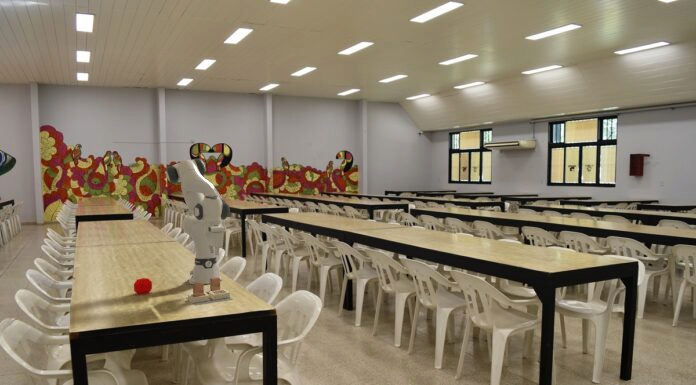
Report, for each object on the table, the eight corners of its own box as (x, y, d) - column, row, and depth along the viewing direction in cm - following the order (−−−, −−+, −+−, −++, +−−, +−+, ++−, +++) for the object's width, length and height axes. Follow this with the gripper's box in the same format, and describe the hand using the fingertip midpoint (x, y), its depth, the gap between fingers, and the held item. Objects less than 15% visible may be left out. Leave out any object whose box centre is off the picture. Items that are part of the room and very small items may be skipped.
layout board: (185, 300, 239) (185, 292, 239) (222, 294, 249) (221, 287, 249) (194, 308, 224) (194, 300, 224) (233, 302, 233) (233, 294, 233)
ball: (145, 291, 262) (144, 276, 262) (154, 292, 258) (154, 278, 258) (131, 294, 255) (131, 279, 255) (141, 295, 251) (141, 281, 251)
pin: (193, 300, 234) (192, 283, 234) (201, 298, 237) (201, 282, 236) (195, 301, 231) (194, 284, 231) (204, 300, 233) (203, 283, 233)
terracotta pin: (210, 293, 253) (209, 278, 252) (218, 292, 255) (217, 276, 254) (212, 294, 249) (212, 279, 249) (220, 293, 251) (219, 278, 251)
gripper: (201, 226, 258) (203, 252, 259) (212, 229, 241) (213, 257, 241) (213, 225, 262) (215, 251, 262) (224, 228, 244) (225, 255, 244)
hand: (214, 254), depth 251 cm, fingers open, 8 cm apart
